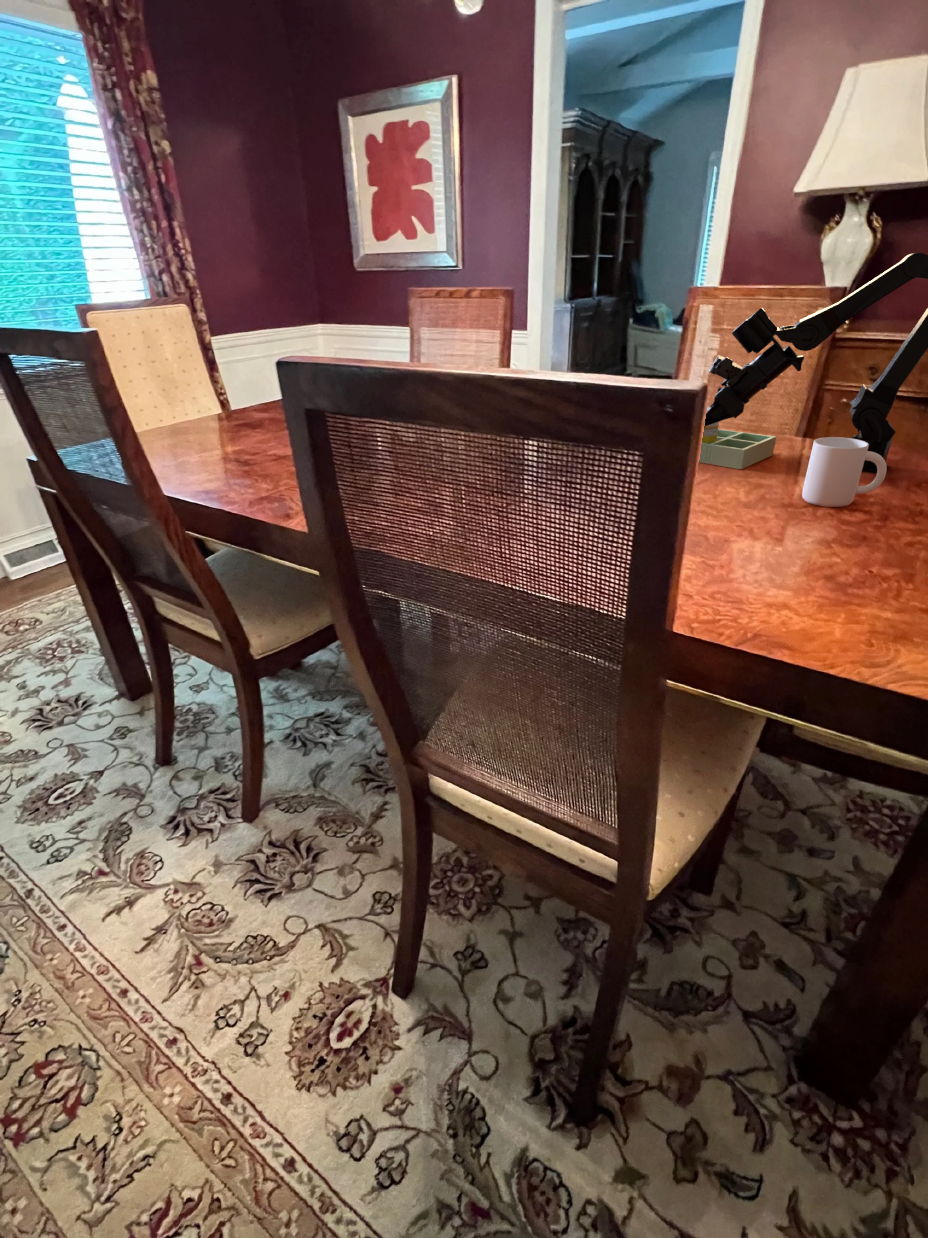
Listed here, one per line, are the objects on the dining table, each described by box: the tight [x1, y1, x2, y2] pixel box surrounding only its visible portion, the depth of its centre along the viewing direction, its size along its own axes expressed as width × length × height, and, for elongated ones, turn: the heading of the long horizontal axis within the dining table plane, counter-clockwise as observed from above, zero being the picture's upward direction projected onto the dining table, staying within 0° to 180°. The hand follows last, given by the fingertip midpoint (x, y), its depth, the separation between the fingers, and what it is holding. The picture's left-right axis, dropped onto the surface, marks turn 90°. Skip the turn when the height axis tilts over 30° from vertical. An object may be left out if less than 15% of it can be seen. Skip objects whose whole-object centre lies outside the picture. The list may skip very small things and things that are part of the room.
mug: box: [801, 436, 888, 508], centre depth 108 cm, size 12×8×10 cm
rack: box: [698, 428, 777, 470], centre depth 139 cm, size 15×15×4 cm
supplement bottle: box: [702, 406, 720, 444], centre depth 137 cm, size 5×5×10 cm
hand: (699, 423), depth 137 cm, fingers closed on supplement bottle, 5 cm apart
